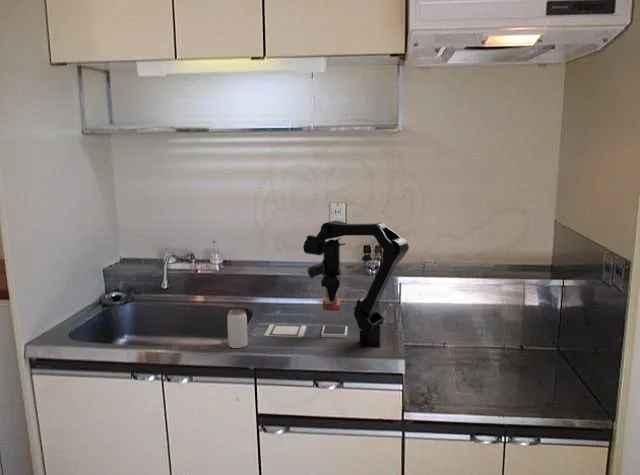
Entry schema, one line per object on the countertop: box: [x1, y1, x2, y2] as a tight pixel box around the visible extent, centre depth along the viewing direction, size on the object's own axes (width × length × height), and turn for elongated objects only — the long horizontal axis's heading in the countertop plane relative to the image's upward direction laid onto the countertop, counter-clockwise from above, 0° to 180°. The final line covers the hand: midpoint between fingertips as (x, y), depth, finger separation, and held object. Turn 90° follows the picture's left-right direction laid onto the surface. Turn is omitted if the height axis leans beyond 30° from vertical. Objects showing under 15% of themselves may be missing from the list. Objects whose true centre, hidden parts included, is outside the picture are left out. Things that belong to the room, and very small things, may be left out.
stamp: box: [322, 287, 341, 312], centre depth 183 cm, size 6×6×9 cm
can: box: [226, 308, 248, 349], centre depth 174 cm, size 6×6×12 cm
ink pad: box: [320, 325, 349, 339], centre depth 187 cm, size 9×9×1 cm
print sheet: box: [263, 324, 307, 338], centre depth 189 cm, size 14×11×1 cm
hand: (331, 299), depth 183 cm, fingers closed on stamp, 4 cm apart
